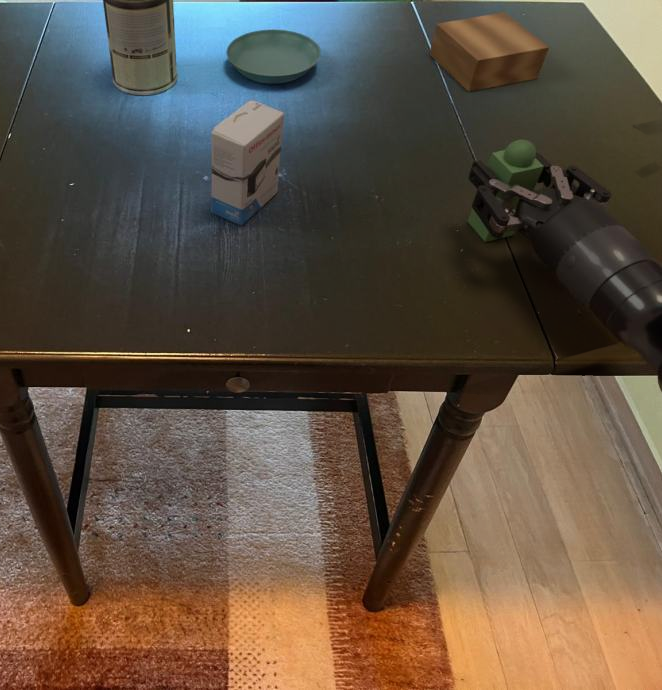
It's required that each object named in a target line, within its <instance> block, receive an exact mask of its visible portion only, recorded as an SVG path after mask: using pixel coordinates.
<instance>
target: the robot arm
mask: <svg viewBox="0 0 662 690" xmlns="http://www.w3.org/2000/svg"><path fill="white" fill-rule="evenodd" d="M535 158H536V159H537V160H538V161H539V162H540V163H541V164H542V165H543V166H544V167H543V170H542V172H541V174H540V177H539V179H538V181H537V183H536V184H541V183H542V188H540V189H534V190H531V191H529V190H527V189H525V188H523V187H521V186H519V185H513V186H510V185H507V184H505V183H503V182H501V181H499V180H497V177H496V176H495V175H494V174H493V173H492V172H491V171H490V170H489V169H488V167H487V166H488V165H486V164H485V163H484V162H483V161H482V160H476V161H473V162H472V166H471V167H470V170H469V174H468V180H469V182H470V183H471V184H472V185H473V186H474V187H475V188H476V189H477V190H476V193H475V196H474V198H473V200H472V204H471V209H472V208H473V209H474V211H475V212H476V214H477V215H478V217H479V218H480V219H481V221H482V222H483V224H484V225H485V227H486V228H487V230H488V231H489V233H490V234H491V236H492V237H494V238H500V239H503V238H502V236H503V234H504V232H505V231H512V230H516V231H517V232H518V233H520V234H522V235H523V236H525V237H527V238H528V239H529V240H530V243H531V245H532V249H533V251H534V253H535V256H537V258H539V259H540V261H541V262H543V264H544V265H545V266H546V268H548V269H549V271H550V272H551V273H552V274H553V275H554V276H555V277H556V278H557V279H558V281H560V282H561V284H562V285H563V286H564V287H565V288H566V289H567V290H568V291H569V293H571V295H573V297H574V298H575V299H576V300H578V301H579V302H580V303H581V304H582V305H584V306H585V307H586V308H588V309H589V310H590V312H592V313H593V315H595V317H596V318H597V319H598V320H599V321H600V322H601V324H602V325H604V327H606V329H607V330H608V331H609V332H610V333H611V334H612V335H613V336H614V337H615V338H616V339H617V340H618V341H619V342H621V343H622V344H623V345H624V346H626V347H627V348H629V349H630V350H632V351H633V352H635V353H636V354H637V355H638V356H639V357H641V358H642V359H643V360H644V362H645V363H646V364H647V365H648V366H649V367H650V369H651V370H652V371H653V372H654V373H655V374H656V375H657V384H658V388H659V390H660V392H661V393H662V265H661V264H660V263H659V262H657V261H656V260H655V258H654V257H653V256H652V255H651V254H650V251H649V250H648V249H646V247H645V246H644V244H642V243H641V241H639V239H637V238H636V237H635V236H634V235H633V234H632V233H631V232H630V231H629V230H627V228H626V227H624V225H622V224H621V223H620V222H619V221H618V220H617V219H616V218H615V217H614V216H613V215H611V213H609V212H608V210H607V209H606V207H607V205H608V203H609V202H610V199H611V197H612V195H613V194H612V192H611V191H609V190H608V189H607V188H605V187H604V186H603V185H602V184H600V183H599V182H597V181H596V180H595V179H594V178H593V177H591V176H590V175H588V174H587V173H586V172H584V171H583V170H582V169H580V168H579V167H578V166H576V165H569V166H567V168H566V169H562V167H560V166H559V165H553V164H551V163H550V162H549V161H548V160H547V159H546V158H545V157H544V156H543V155H541V154H540V153H539V152H536V156H535ZM574 181H576V182H578V186H576V185H575V184H574ZM497 192H500V193H502V194H504V195H505V199H504V200H503V199H501V198H499V197H497V196H496V195H497ZM516 197H518V198H520V200H519V202H518V204H517V207H516V210H515V209H514V208H513V203H514V201H515V198H516Z"/></svg>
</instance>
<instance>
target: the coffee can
mask: <svg viewBox="0 0 662 690" xmlns="http://www.w3.org/2000/svg"><path fill="white" fill-rule="evenodd" d="M102 4H103V13H104V19H105V20H104V21H105V29H106V34H107V42H108V49H109V50H108V51H109V58H110V67H111V74H112V83H113V85H114V87H116V89H118V90H119V91H121V92H122V93H125V94H128V95H134V96H151V95H157V94H161V93H163V92H166V91H167V90H170V89H171V88H173V86H174V85H176V83H177V82H178V69H177V66H178V65H177V48H176V29H175V11H174V10H175V9H174V8H175V6H174V0H102Z"/></svg>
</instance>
